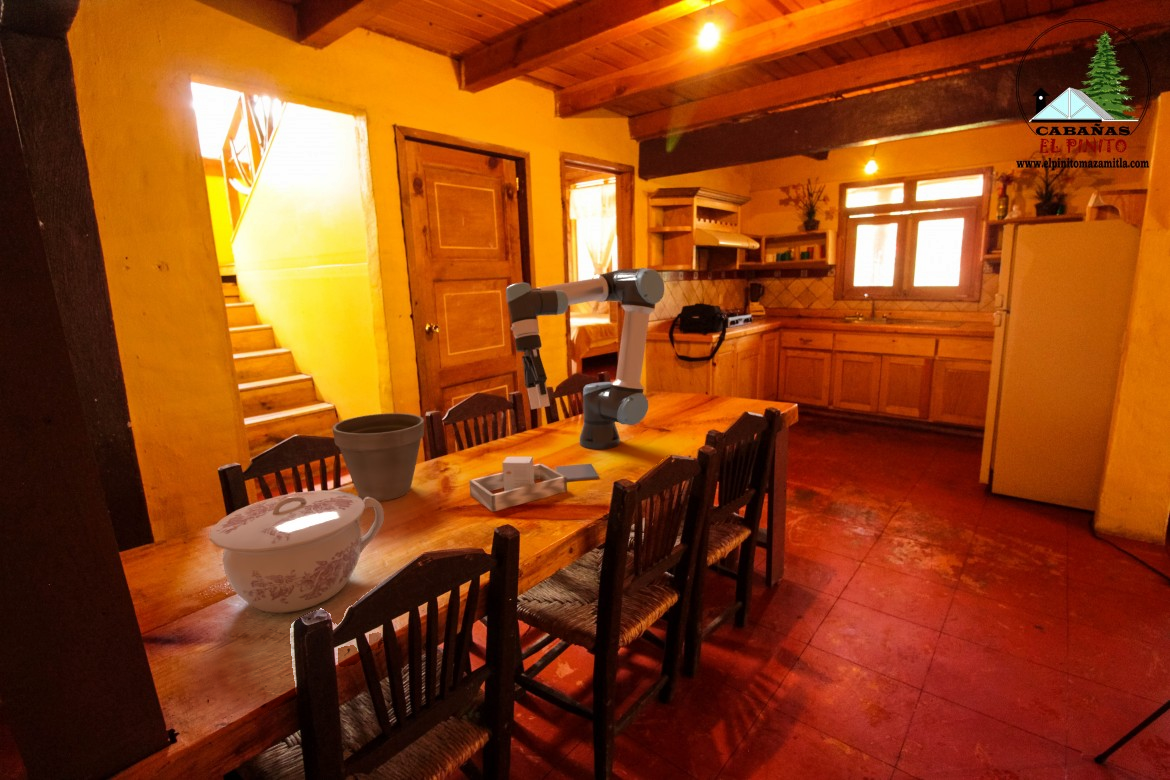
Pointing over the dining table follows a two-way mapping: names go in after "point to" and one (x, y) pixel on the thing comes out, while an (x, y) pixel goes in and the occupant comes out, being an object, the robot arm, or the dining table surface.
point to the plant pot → (380, 452)
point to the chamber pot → (294, 547)
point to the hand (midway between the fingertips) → (540, 407)
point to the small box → (517, 472)
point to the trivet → (577, 472)
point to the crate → (502, 500)
